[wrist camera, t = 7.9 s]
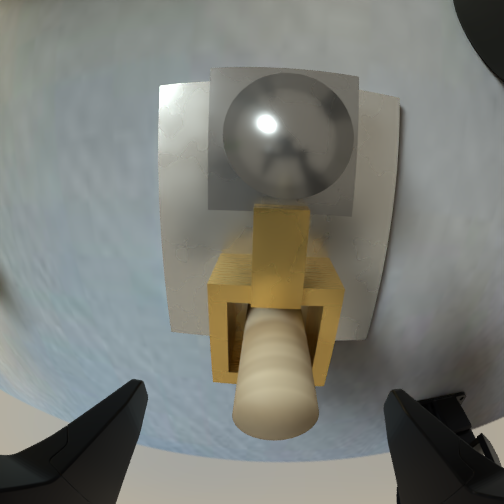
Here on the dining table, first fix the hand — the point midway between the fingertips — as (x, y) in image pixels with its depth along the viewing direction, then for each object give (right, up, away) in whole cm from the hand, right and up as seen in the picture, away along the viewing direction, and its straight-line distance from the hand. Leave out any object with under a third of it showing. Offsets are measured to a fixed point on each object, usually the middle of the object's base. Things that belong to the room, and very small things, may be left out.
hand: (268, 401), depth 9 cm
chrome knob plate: (+1, +7, +6) cm, 9 cm away
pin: (+1, +2, +7) cm, 7 cm away
